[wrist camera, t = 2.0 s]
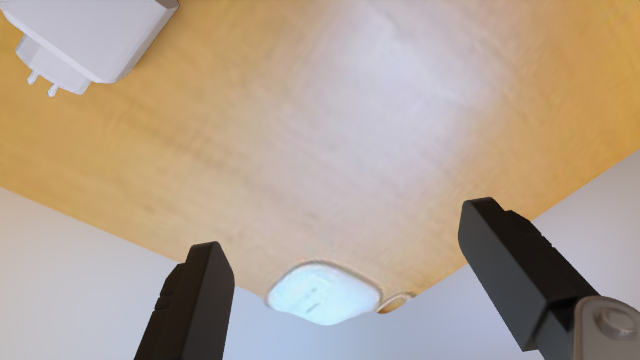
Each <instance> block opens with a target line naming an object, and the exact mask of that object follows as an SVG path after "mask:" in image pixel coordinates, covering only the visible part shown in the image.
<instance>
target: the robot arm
mask: <svg viewBox="0 0 640 360" xmlns="http://www.w3.org/2000/svg"><path fill="white" fill-rule="evenodd" d="M458 241H459V246H460V249H461V251H462V253H463V255H464V256H465V258H466V260H467V261H468V263H469V264H470V266H471V268H472V269H473V271H474V273H475V274H476V276H477V278H478V279H479V281H480V283H481V284H482V286H483V287H484V289H485V290H486V292H487V294H488V296H489V297H490V299H491V301H492V302H493V304H494V305H495V307H496V309H497V310H498V312H499V314H500V315H501V317H502V319H503V320H504V322H505V324H506V325H507V327H508V329H509V330H510V332H511V333H512V335H513V337H514V338H515V340H516V342H517V343H518V345H519V347H520V348H521V350H522V351H523V352H524V351H531V350H537V349H538V350H539V351H540V353H541V354H542V356H543V357H544V359H545V360H640V312H639V311H637V310H636V309H634V308H633V307H631V306H629V305H627V304H625V303H623V302H621V301H619V300H616V299H613V298H609V297H605V296H601V295H600V294H599V293H598V292H597V291H595V289H594V288H593V287H592V286H591V285H590V284H589V283H588V282H587V281H586V280H585V279H584V278H583V277H582V276H581V275H580V274H579V273H578V272H577V270H576V269H574V267H573V266H572V265H571V264H570V263H569V262H568V261H567V260H566V259H565V258H564V257H563V256H562V255H561V254H560V253H559V252H558V251H557V249H555V247H552V244H551V243H550V242H549V241H548V240H547V239H546V238H545V237H544V236H542V235H541V233H540V232H539V231H538V230H537V228H536V227H535V226H534V225H533V224H532V223H531V222H530V221H529V220H527V219H526V218H524V217H522V216H521V215H519V214H517V213H515V212H514V211H512V210H508V211H504V210H503V209H502V208H501V206H500V205H499V204H498V203H497V202H496V201H495V200H494V199H493V198H491V197H485V198H479V199H473V200H467V201H464V203H463V206H462V212H461V218H460V225H459V231H458ZM234 287H235V281H234V274H233V271H232V269H231V267H230V264H229V262H228V260H227V258H226V256H225V254H224V252H223V250H222V248H221V246H220V244H219V243H218V242H217V241H214V242H208V243H202V244H196V245H193V246H192V247H191V248H190V250H189V253H188V256H187V259H186V262H185V263H181V264H177V266H176V267H175V268H174V270H173V271H172V272H171V273H170V274H169V276H168V277H167V278H166V280H165V283H164V285H163V287H162V290H161V292H160V298H158V300H157V303H156V305H155V311H153V312H152V315H151V318H150V320H149V322H148V325H147V328H146V330H145V333H144V335H143V337H142V340H141V343H140V345H139V347H138V350H137V353H136V355H135V358H134V360H222V358H223V352H224V346H225V341H226V335H227V329H228V323H229V317H230V312H231V306H232V300H233V294H234Z"/></svg>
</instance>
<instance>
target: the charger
mask: <svg viewBox="0 0 640 360" xmlns="http://www.w3.org/2000/svg"><path fill="white" fill-rule="evenodd" d="M178 7H179V3H178V2H177V0H0V8H1V10H2V12H3V14H4V15H5V17H6V19H7V20H8V21H9V22H10V23H11V24H13V25H14V26H15V27H17V28H18V29H20V30H21V31H22V32H24V35H23V37H22V38H21V40H20V42H19V44H18V46H17V47H16V49H15V50H16V54H17V55H18V56H19V57H20V58H21V60H22V61H23V62H24V63H25V64H26V65H27V66H28V67H29V68H30V69H32V70H33V71H32V72H31V74H30V76H29V77H28V79H27V82H28V83H29V84H34V82H35V81H36V79H37V77H38V76H39V75H41V76H42V77H44V78H45V79H47V80H48V81H50V82H51V83H53V84H52V86H51V88H50V89H49V91H48V92H47V95H48V96H49V97H53V96H54V95H55V93H56V92H57V90H58V89H59V87H60V88H63V89H65V90H68V91H70V92H73V93H75V94H80V95H82V94H83V93H84V91H85V90H86V89H87V87H88V86H89V84H90V83H91V81H94V82H96V83H116V82H117V81H119V80H120V79H122V78H123V77H125V76H126V75H128V74H129V73H130V71H131V70H132V69H133V67H134V66H135V65H136V63H137V62H138V61H139V59H140V58H141V57H142V55H143V54H144V52H145V51H146V50H147V48H148V47H149V46H150V44H151V43H152V42H153V40H154V39H155V38H156V36H157V35H158V34H159V32H160V31H161V30H162V28H163V27H164V26H165V24H166V23H167V22H168V20H169V19H170V18H171V16H172V15H173V14H174V12H175V11H176V10H177V8H178Z"/></svg>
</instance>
